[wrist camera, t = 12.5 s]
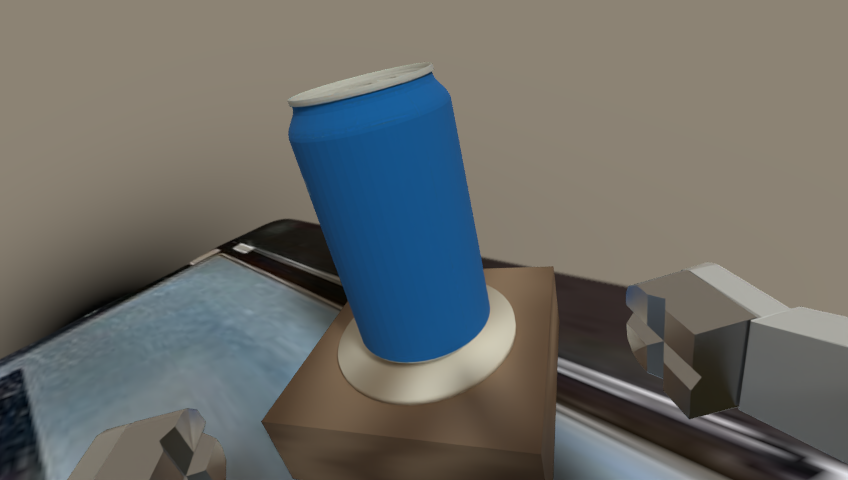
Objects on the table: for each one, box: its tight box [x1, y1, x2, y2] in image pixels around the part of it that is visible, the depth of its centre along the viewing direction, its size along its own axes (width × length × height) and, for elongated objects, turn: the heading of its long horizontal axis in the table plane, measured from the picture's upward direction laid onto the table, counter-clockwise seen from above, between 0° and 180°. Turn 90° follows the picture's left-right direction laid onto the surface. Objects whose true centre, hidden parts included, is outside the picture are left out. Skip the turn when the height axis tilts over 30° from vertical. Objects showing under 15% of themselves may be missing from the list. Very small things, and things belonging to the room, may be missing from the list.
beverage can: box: [288, 62, 490, 364], centre depth 19 cm, size 6×6×12 cm
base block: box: [261, 267, 559, 480], centre depth 23 cm, size 12×12×4 cm
